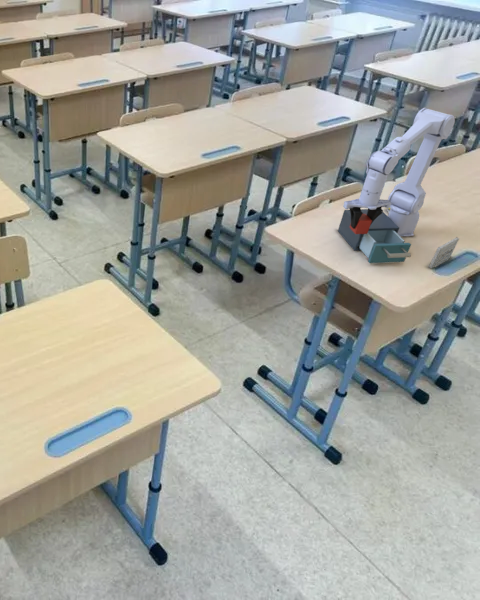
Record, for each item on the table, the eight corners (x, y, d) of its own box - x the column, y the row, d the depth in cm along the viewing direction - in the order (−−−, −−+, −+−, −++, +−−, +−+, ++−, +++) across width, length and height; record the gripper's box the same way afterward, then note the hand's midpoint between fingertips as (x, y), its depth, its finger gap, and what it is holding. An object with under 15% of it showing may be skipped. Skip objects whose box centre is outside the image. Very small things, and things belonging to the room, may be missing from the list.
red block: (360, 226, 186) (365, 213, 183) (367, 233, 182) (372, 220, 179) (349, 227, 186) (353, 214, 182) (355, 234, 182) (360, 220, 179)
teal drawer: (411, 270, 179) (419, 252, 175) (376, 271, 179) (383, 253, 175) (385, 242, 193) (392, 225, 189) (352, 243, 193) (358, 226, 188)
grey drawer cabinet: (391, 249, 191) (399, 227, 186) (354, 250, 190) (361, 229, 185) (372, 229, 202) (380, 208, 197) (337, 230, 201) (344, 209, 196)
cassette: (432, 269, 181) (441, 249, 176) (426, 266, 182) (435, 247, 178) (451, 258, 186) (461, 238, 182) (446, 255, 188) (455, 236, 183)
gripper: (355, 195, 171) (343, 233, 179) (401, 194, 172) (386, 232, 180) (345, 185, 177) (334, 222, 185) (389, 184, 177) (376, 221, 186)
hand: (359, 226), depth 183 cm, fingers closed on red block, 4 cm apart
